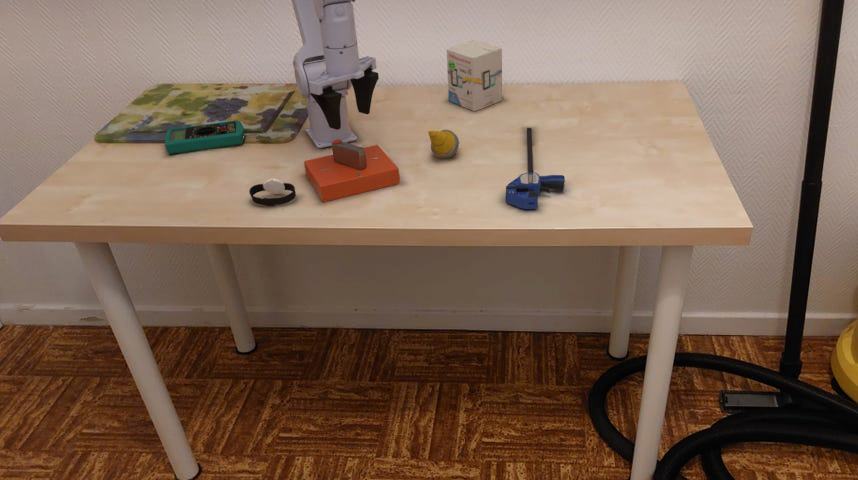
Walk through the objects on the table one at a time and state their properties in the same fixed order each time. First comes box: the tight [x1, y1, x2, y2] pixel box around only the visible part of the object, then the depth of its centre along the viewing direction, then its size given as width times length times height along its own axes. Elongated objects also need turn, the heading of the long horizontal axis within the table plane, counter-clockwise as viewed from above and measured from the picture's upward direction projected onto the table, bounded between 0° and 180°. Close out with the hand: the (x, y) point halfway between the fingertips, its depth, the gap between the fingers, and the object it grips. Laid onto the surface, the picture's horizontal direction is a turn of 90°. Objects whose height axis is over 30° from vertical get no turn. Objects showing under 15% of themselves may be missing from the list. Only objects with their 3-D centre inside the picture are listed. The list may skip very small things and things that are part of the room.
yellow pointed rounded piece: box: [427, 129, 460, 160], centre depth 136 cm, size 5×5×10 cm
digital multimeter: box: [164, 119, 246, 155], centre depth 146 cm, size 7×15×3 cm, turn 105°
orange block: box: [303, 144, 401, 203], centre depth 131 cm, size 14×11×3 cm
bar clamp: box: [505, 127, 566, 210], centre depth 134 cm, size 32×2×10 cm
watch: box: [248, 177, 297, 207], centre depth 126 cm, size 8×5×4 cm, turn 91°
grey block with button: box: [331, 139, 367, 170], centre depth 129 cm, size 6×2×4 cm, turn 55°
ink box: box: [446, 39, 503, 112], centre depth 157 cm, size 8×8×12 cm
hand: (349, 120), depth 131 cm, fingers open, 7 cm apart
